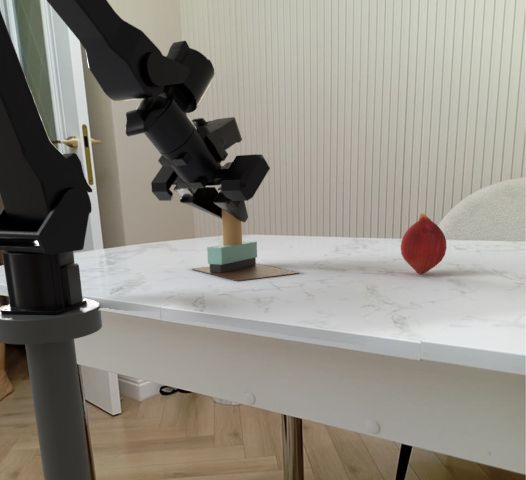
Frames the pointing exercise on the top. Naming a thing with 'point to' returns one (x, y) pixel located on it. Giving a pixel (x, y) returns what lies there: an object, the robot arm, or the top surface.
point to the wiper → (231, 248)
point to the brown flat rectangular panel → (249, 272)
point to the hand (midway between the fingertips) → (238, 219)
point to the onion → (423, 245)
